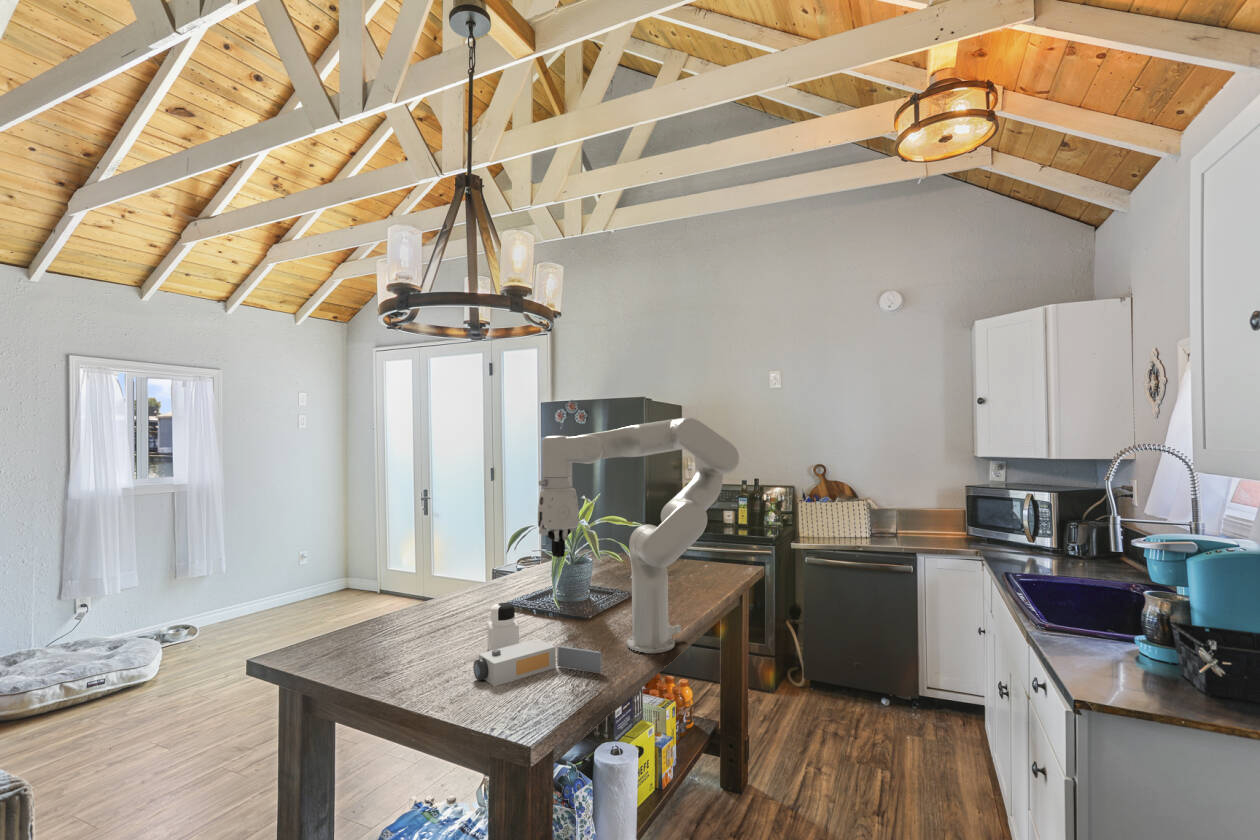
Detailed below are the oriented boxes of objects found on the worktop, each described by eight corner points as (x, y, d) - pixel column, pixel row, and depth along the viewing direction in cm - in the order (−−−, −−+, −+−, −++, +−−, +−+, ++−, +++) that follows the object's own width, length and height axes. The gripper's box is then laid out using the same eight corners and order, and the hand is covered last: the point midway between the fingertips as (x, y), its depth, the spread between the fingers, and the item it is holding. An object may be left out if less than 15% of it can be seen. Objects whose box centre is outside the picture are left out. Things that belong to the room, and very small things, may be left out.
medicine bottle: (514, 644, 158) (514, 599, 158) (519, 653, 151) (518, 606, 152) (487, 648, 155) (487, 602, 156) (491, 657, 149) (490, 609, 149)
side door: (556, 666, 142) (556, 646, 142) (559, 664, 143) (559, 644, 143) (600, 673, 137) (599, 653, 137) (602, 670, 138) (602, 651, 138)
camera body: (538, 658, 147) (538, 635, 148) (555, 667, 141) (555, 643, 141) (471, 677, 136) (471, 652, 136) (487, 688, 130) (487, 662, 130)
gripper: (539, 486, 143) (540, 562, 142) (589, 483, 152) (590, 554, 152) (524, 485, 149) (525, 558, 148) (573, 481, 158) (574, 550, 158)
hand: (558, 556), depth 150 cm, fingers closed
